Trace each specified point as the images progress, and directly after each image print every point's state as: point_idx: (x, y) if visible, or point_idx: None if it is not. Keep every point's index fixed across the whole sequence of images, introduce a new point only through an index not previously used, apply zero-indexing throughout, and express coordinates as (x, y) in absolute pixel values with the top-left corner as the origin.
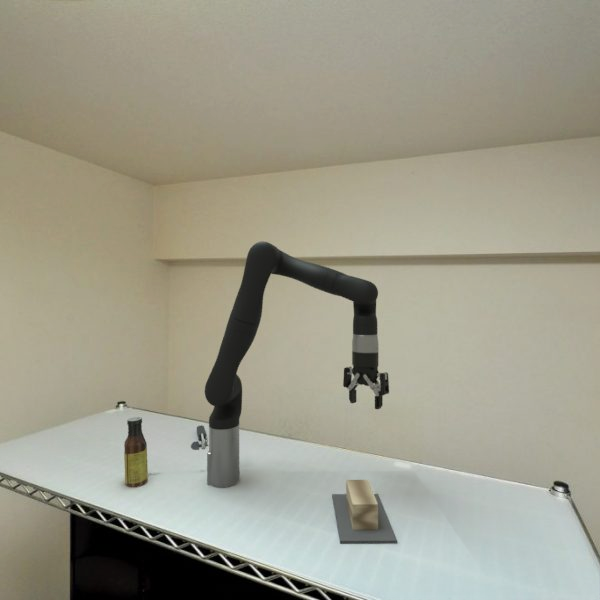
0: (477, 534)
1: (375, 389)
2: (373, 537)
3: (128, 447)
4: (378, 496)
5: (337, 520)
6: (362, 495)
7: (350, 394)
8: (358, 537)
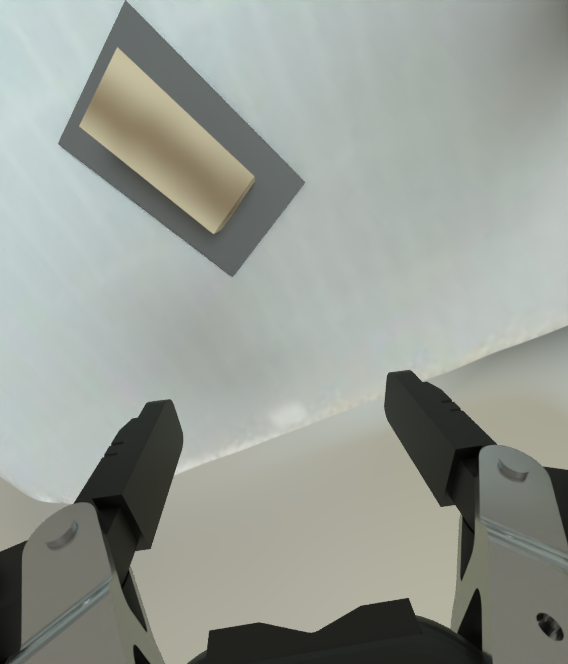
0: (17, 314)
1: (42, 609)
2: None
3: None
4: (224, 268)
5: (205, 84)
6: (147, 132)
7: (448, 415)
8: None
